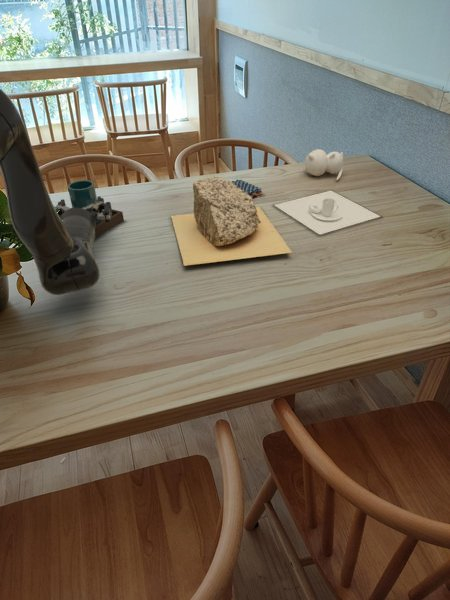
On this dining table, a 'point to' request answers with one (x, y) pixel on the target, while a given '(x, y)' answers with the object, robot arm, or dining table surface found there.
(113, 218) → the tray
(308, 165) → the cat figurine
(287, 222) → the dining table surface
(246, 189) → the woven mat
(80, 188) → the cup
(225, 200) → the rock
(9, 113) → the robot arm
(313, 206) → the teacup and saucer
